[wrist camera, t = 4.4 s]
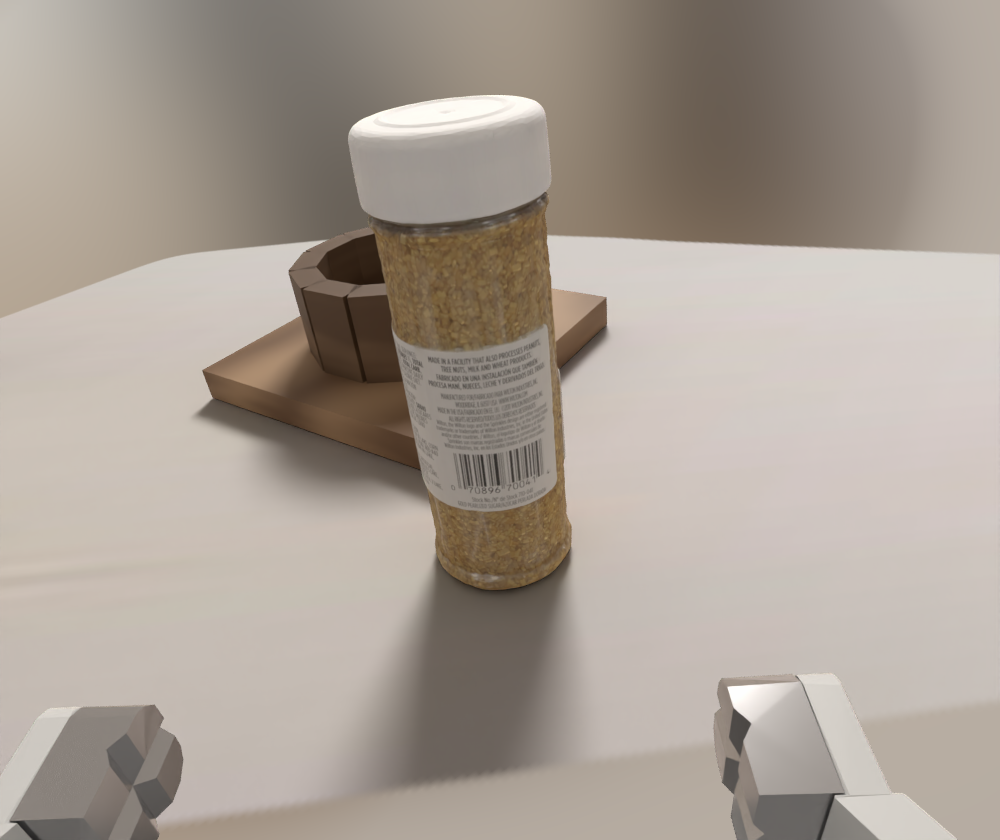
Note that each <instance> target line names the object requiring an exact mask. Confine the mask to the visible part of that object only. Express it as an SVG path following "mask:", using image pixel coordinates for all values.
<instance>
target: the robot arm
mask: <svg viewBox="0 0 1000 840" xmlns="http://www.w3.org/2000/svg"><path fill="white" fill-rule="evenodd" d="M717 695H718V699H719V703H720V707H721V709H719V710H718V711H717V712H716V713H715V716H714V742H715V751H716V757H717V762H718V767H719V771H720V775H721V779H722V783H723V784H724V785H725V786H726V787H727V788H728V789H729V790H730V791H731V792H732V793H733V794H734V798H733V805H732V812H731V819H732V823H733V827H734V830H735V834H736V838H737V840H958V839H956V838H955V837H954V836H953V835H952V834H951V833H949V832H948V831H947V830H946V829H945V828H944V827H942V826H941V825H940V824H939V823H938V822H937V821H936V820H934V819H933V818H932V817H931V816H930V815H929V814H927V813H926V812H925V811H924V810H923V809H922V808H921V807H919V806H918V805H917V804H916V803H915V802H914V801H913V800H911V799H910V798H909V797H908V796H907V795H906V794H904V793H892V792H891V790H890V788H889V786H888V783H887V781H886V779H885V777H884V775H883V772H882V770H881V768H880V766H879V764H878V762H877V759H876V757H875V755H874V753H873V751H872V748H871V746H870V744H869V742H868V740H867V738H866V735H865V733H864V731H863V729H862V727H861V724H860V722H859V720H858V718H857V716H856V713H855V711H854V709H853V707H852V705H851V703H850V700H849V698H848V696H847V694H846V692H845V689H844V687H843V685H842V683H841V681H840V680H839V679H838V678H837V677H836V676H835V675H834V674H832V673H820V674H804V675H793V674H784V675H768V676H752V677H736V678H722V679H721V680H720V681H719V684H718V691H717ZM163 719H164V717H163V716H162V714H161V713H160V712H159V710H158V709H157V707H156V706H155V705H130V706H101V707H65V708H49V709H47V710H46V711H45V712H44V713H43V714H41V715H40V716H39V717H38V718H37V719H36V720H35V721H34V723H33V725H32V726H31V728H30V729H29V731H28V733H27V734H26V736H25V737H24V739H23V740H22V742H21V744H20V745H19V747H18V748H17V750H16V751H15V753H14V755H13V756H12V758H11V759H10V761H9V763H8V764H7V766H6V767H5V769H4V770H3V772H2V774H1V775H0V840H157V839H158V837H159V830H158V826H157V821H156V818H157V817H158V816H159V815H160V814H161V813H162V812H163V811H164V810H165V809H166V808H167V807H168V806H169V805H170V804H171V803H172V802H173V800H174V797H175V794H176V792H177V789H178V787H179V784H180V781H181V774H182V766H183V756H182V750H181V745H180V744H179V742H178V740H177V739H176V737H175V736H174V735H173V734H171V733H169V732H167V731H166V730H164V729H162V728H160V726H161V723H162V721H163Z"/></svg>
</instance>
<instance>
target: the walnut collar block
mask: <svg viewBox="0 0 1000 840" xmlns="http://www.w3.org/2000/svg"><path fill="white" fill-rule="evenodd" d="M289 276H290V279H291V283H292V287H293V290H294V294H295V297H296V301H297V304H298V308H299V311H300V315H301V316H300V317H298V318H296V319H294V320H292V321H291V322H289V323H287V324H285V325H283V326H282V327H280V328H278V329H276V330H274V331H273V332H271V333H269V334H267V335H265V336H264V337H262V338H260V339H258V340H256V341H254V342H253V343H251V344H249V345H247V346H245V347H244V348H242V349H240V350H238V351H236V352H235V353H233V354H231V355H229V356H227V357H226V358H224V359H222V360H220V361H218V362H217V363H215V364H213V365H211V366H209V367H207V368H206V369H204V370H202V371H203V374H204V376H205V379H206V382H207V384H208V387H209V389H210V392H211V395H212V397H213V398H215V399H218V400H221V401H224V402H227V403H230V404H233V405H235V406H238V407H241V408H244V409H247V410H250V411H253V412H256V413H258V414H261V415H264V416H267V417H270V418H273V419H276V420H279V421H282V422H284V423H287V424H290V425H293V426H296V427H299V428H302V429H305V430H307V431H310V432H313V433H316V434H319V435H322V436H325V437H328V438H330V439H333V440H336V441H339V442H342V443H345V444H348V445H351V446H354V447H356V448H359V449H362V450H365V451H368V452H371V453H374V454H377V455H379V456H382V457H385V458H388V459H391V460H394V461H397V462H400V463H402V464H405V465H408V466H411V467H414V468H417V469H420V470H421V467H420V462H419V457H418V452H417V448H416V443H415V438H414V433H413V428H412V423H411V418H410V413H409V408H408V403H407V398H406V394H405V389H404V384H403V379H402V374H401V369H400V364H399V360H398V355H397V351H396V346H395V342H394V337H393V332H392V316H391V311H390V307H389V300H388V296H387V293H386V284H385V280H384V276H383V272H382V264H381V260H380V257H379V253H378V248H377V244H376V238H375V234H374V232H373V230H372V229H371V228H370V227H368V228H364V229H359V230H355V231H352V232H347V233H344V235H338V236H336V237H334V238H332V239H329V240H327V241H325V242H323V243H321V244H319V245H317V246H315V247H312V248H310V249H308V250H306V252H303V254H302V255H301V256H300V257H299V258H298V260H297V261H296V262H295V263H294V265H293V266H292V267H291V268H290V269H289ZM551 291H552V304H553V317H554V325H555V342H556V355H557V367H558V369H560V368H561V367H562V366H563V365H564V364H565V363H566V362H567V361H568V360H569V359H570V358H572V357H573V356H574V355H575V354H576V353H577V352H578V351H579V350H580V349H581V348H582V347H583V346H584V345H585V344H586V343H587V342H589V341H590V340H591V339H592V338H593V337H594V336H595V335H596V334H597V333H598V332H599V331H600V330H601V329H602V328H603V327H605V326H606V325H607V304H606V297H602V296H595V295H589V294H583V293H576V292H570V291H564V290H558V289H551Z"/></svg>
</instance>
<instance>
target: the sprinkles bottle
mask: <svg viewBox="0 0 1000 840" xmlns="http://www.w3.org/2000/svg"><path fill="white" fill-rule="evenodd" d="M348 143H349V149H350V155H351V160H352V166H353V171H354V176H355V181H356V185H357V191H358V195H359V200H360V204H361V207H362V208H363V209H364V211H365V212H367V213H368V214H369V219H368V224H369V226H370V228H371V229H372V230H373V232H374V234H375V238H376V244H377V248H378V253H379V257H380V260H381V264H382V272H383V276H384V280H385V284H386V293H387V296H388V300H389V307H390V311H391V316H392V332H393V337H394V342H395V346H396V351H397V355H398V360H399V364H400V369H401V374H402V379H403V384H404V389H405V394H406V398H407V403H408V408H409V413H410V418H411V423H412V428H413V433H414V438H415V443H416V448H417V452H418V457H419V462H420V467H421V472H422V477H423V480H424V483H425V485H426V487H427V489H428V494H429V500H430V505H431V511H432V514H433V518H434V525H435V528H436V539H435V547H436V553H437V556H438V558H439V561H440V563H441V565H442V567H443V568H444V569H445V570H446V571H447V572H448V573H449V574H450V575H451V576H453V577H455V578H457V579H458V580H460V581H461V582H463V583H465V584H469V585H472V586H474V587H477V588H481V589H486V590H500V589H503V590H505V589H509V588H517V587H520V586H525V585H528V584H531V583H533V582H535V581H538V580H540V579H542V578H544V577H545V576H547V575H549V574H550V573H551V572H552V571H554V570H555V569H556V568H557V567H558V565H559V564H560V563H561V561H562V560H563V559H564V558H565V556H566V554H567V553H568V551H569V549H570V546H571V524H570V522H569V520H568V517H567V514H566V498H565V478H564V466H563V463H564V459H565V442H564V425H563V409H562V392H561V379H560V371H559V369H558V367H557V355H556V342H555V325H554V317H553V304H552V291H551V276H550V271H549V266H550V264H549V254H548V246H547V227H546V221H545V211H546V208H547V205H548V203H549V197H548V194H547V193H546V192H545V191H546V190H547V189H548V188H549V186H550V183H551V168H550V155H549V144H548V133H547V123H546V116H545V112H544V109H543V108H542V106H541V105H540V104H539V103H537V102H536V101H534V100H531V99H528V98H523V97H517V96H504V95H488V96H487V95H485V96H468V97H456V98H447V99H439V100H432V101H426V102H421V103H416V104H410V105H405V106H401V107H397V108H393V109H389V110H386V111H382V112H379V113H376V114H374V115H372V116H369V117H366V118H364V119H362V120H360V121H359V122H358V123H356V124H355V125H354V126H353V127H352V128H351V130H350V132H349V137H348Z"/></svg>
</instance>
